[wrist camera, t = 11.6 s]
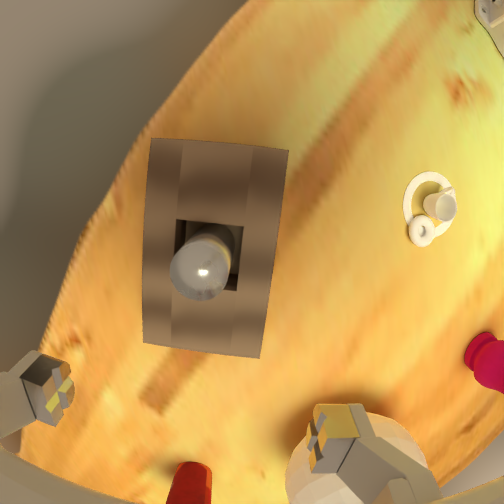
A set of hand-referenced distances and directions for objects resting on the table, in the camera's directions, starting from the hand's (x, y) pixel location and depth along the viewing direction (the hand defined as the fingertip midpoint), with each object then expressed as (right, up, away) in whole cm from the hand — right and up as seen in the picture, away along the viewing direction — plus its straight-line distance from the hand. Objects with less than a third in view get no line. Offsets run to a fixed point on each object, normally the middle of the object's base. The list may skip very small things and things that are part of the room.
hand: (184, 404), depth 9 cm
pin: (-2, +6, +24) cm, 25 cm away
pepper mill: (+37, -10, +29) cm, 49 cm away
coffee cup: (-8, -33, +35) cm, 48 cm away
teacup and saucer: (+20, +10, +25) cm, 33 cm away
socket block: (-2, +6, +25) cm, 26 cm away
